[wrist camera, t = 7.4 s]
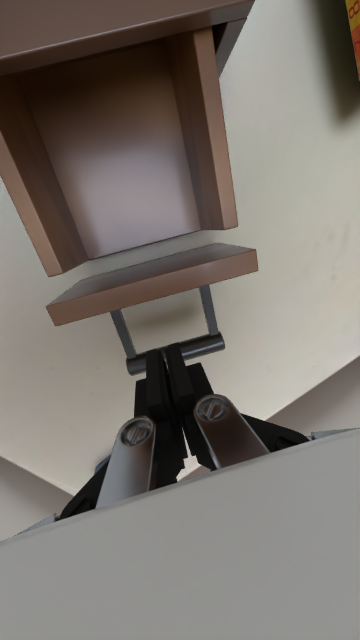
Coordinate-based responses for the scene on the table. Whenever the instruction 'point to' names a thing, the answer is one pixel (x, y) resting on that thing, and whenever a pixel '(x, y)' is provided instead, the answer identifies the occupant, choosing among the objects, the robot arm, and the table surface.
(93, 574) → the robot arm
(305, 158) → the table surface
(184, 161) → the drawer
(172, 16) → the cabinet
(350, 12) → the puzzle game
